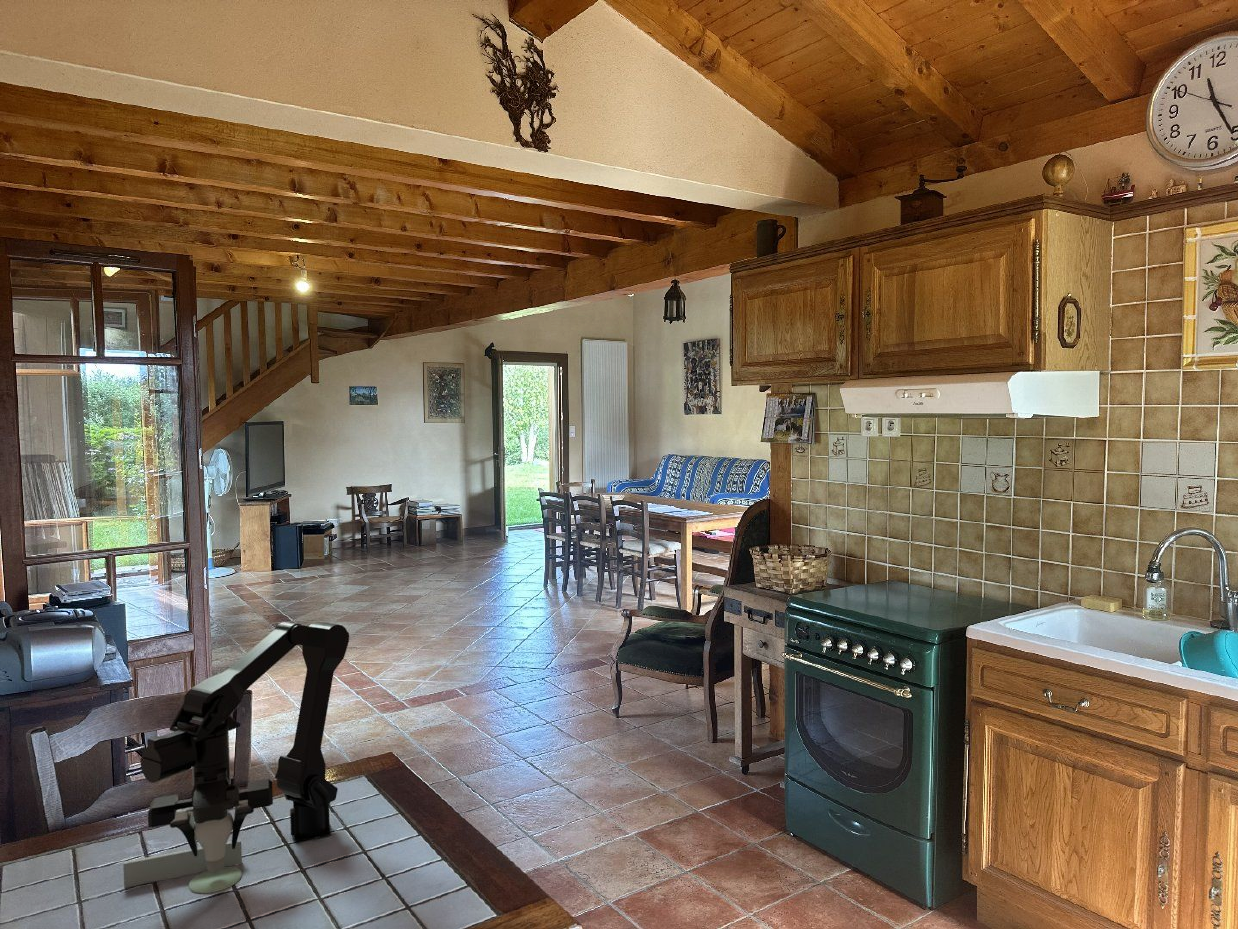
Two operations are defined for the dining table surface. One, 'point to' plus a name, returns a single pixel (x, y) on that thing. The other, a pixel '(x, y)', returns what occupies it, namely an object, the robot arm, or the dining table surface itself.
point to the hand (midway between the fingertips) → (214, 851)
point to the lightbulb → (214, 840)
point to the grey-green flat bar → (174, 865)
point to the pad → (215, 880)
